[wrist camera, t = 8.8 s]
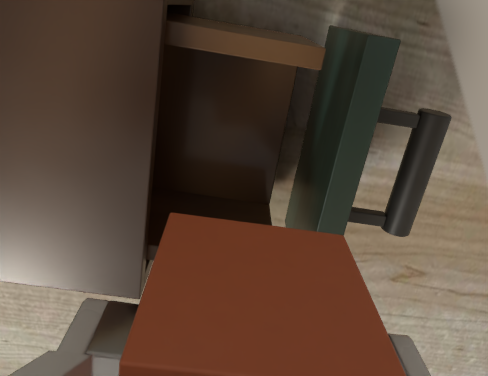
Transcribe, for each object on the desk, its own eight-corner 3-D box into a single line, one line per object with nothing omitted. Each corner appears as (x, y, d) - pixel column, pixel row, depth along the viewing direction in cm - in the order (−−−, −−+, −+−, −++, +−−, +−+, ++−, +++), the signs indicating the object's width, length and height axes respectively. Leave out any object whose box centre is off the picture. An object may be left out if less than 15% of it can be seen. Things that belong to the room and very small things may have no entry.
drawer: (429, 42, 22) (511, 59, 15) (368, 233, 26) (411, 311, 20) (84, -19, 21) (8, -30, 14) (82, 192, 25) (23, 259, 18)
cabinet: (195, -12, 22) (165, -23, 13) (172, 207, 26) (139, 299, 18) (-102, -65, 21) (-336, -113, 12) (-69, 172, 26) (-220, 253, 17)
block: (344, 234, 11) (416, 394, 6) (307, 363, 12) (344, 560, 8) (170, 211, 10) (118, 362, 6) (157, 347, 12) (109, 542, 8)
